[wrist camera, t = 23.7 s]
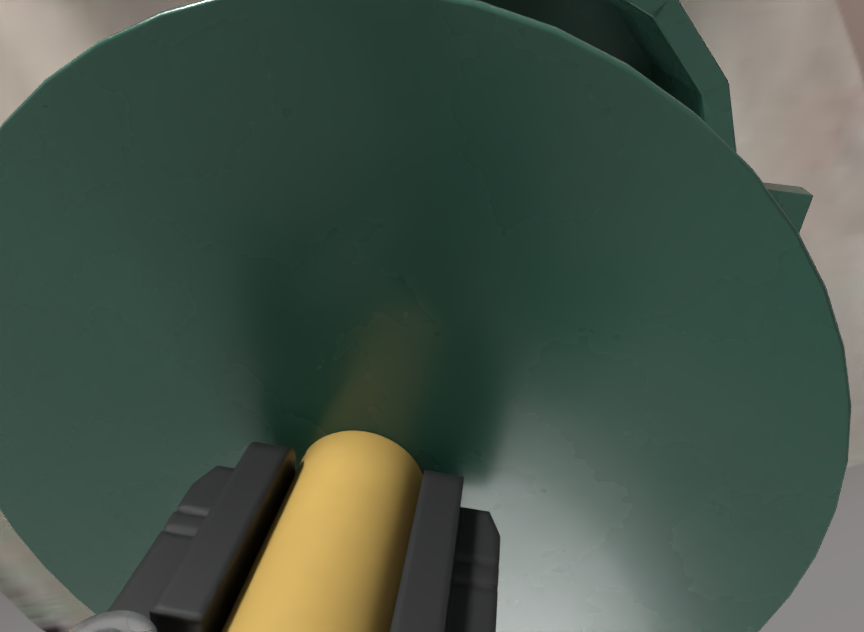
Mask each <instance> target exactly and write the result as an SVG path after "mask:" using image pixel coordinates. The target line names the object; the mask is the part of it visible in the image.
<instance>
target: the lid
mask: <svg viewBox="0 0 864 632" xmlns="http://www.w3.org/2000/svg"><path fill="white" fill-rule="evenodd" d="M850 415H851V400H850V391H849V383H848V375H847V366H846V358H845V350H844V345H843V341H842V338H841V335H840V332H839V328H838V325H837V322H836V319H835V315H834V312H833V309H832V305H831V302H830V299H829V296H828V292H827V289H826V286H825V284H824V282H823V281H822V279H821V277H820V275H819V273H818V271H817V269H816V267H815V265H814V263H813V261H812V259H811V257H810V255H809V253H808V251H807V249H806V247H805V245H804V243H803V241H802V239H801V237H800V235H799V233H798V231H797V229H796V227H795V226H794V225H793V223H792V222H791V220H790V219H789V218H788V216H787V215H786V214H785V212H784V211H783V210H782V208H781V207H780V206H779V204H778V203H777V201H776V200H775V199H774V197H773V196H772V195H771V193H770V192H769V191H768V189H767V188H766V187H765V185H764V184H763V182H762V181H761V180H760V178H759V177H758V176H757V174H756V173H755V172H754V170H753V169H752V168H751V167H750V166H749V165H748V164H747V163H746V162H745V161H744V160H743V159H742V158H741V157H740V156H739V155H738V154H737V153H736V152H735V151H734V150H733V149H732V148H731V147H730V146H729V145H728V144H727V143H726V142H725V141H724V140H723V139H722V138H721V137H720V136H719V135H717V134H716V133H715V132H714V131H713V130H712V129H711V128H710V127H709V126H708V125H707V124H706V123H705V122H704V121H703V120H702V119H701V118H700V117H699V116H698V115H697V114H696V113H694V112H693V111H692V110H691V109H689V108H688V107H687V106H685V105H684V104H682V103H681V102H680V101H678V100H677V99H675V98H674V97H673V96H671V95H670V94H669V93H667V92H666V91H664V90H663V89H662V88H660V87H659V86H657V85H656V84H655V83H653V82H652V81H651V80H649V79H648V78H646V77H645V76H644V75H642V74H641V73H639V72H638V71H637V70H635V69H634V68H632V67H631V66H630V65H628V64H627V63H625V62H623V61H621V60H619V59H617V58H615V57H613V56H611V55H609V54H607V53H606V52H604V51H602V50H600V49H598V48H596V47H594V46H592V45H590V44H588V43H586V42H584V41H582V40H580V39H578V38H577V37H575V36H573V35H571V34H569V33H567V32H565V31H563V30H561V29H559V28H557V27H555V26H552V25H549V24H546V23H543V22H540V21H537V20H534V19H532V18H529V17H526V16H523V15H520V14H517V13H514V12H511V11H508V10H505V9H502V8H500V7H497V6H494V5H491V4H488V3H485V2H482V1H479V0H202V1H199V2H195V3H191V4H188V5H184V6H181V7H177V8H174V9H170V10H167V11H163V12H160V13H158V14H156V15H154V16H152V17H150V18H148V19H145V20H143V21H141V22H139V23H137V24H135V25H133V26H131V27H129V28H126V29H124V30H122V31H120V32H118V33H116V34H114V35H112V36H110V37H107V38H105V39H103V40H101V41H99V42H97V43H96V44H95V45H93V46H92V47H90V48H89V49H87V50H86V51H85V52H83V53H82V54H80V55H79V56H78V57H76V58H75V59H73V60H72V61H71V62H69V63H68V64H66V65H65V66H64V67H62V68H61V69H59V70H58V71H56V72H55V73H54V74H52V75H51V76H49V77H48V78H47V79H45V80H44V81H43V82H42V83H41V85H40V86H39V87H38V88H37V89H36V90H35V91H34V92H33V93H32V94H31V95H30V96H29V97H28V98H27V99H26V100H25V101H24V102H23V103H22V104H21V105H20V106H19V107H18V108H17V109H16V110H15V111H14V112H13V113H12V114H11V115H10V116H9V117H8V118H7V119H6V120H5V121H4V123H3V124H2V126H1V127H0V510H1V511H2V513H3V514H4V516H5V517H6V519H7V520H8V522H9V523H10V525H11V526H12V528H13V529H14V531H15V532H16V533H17V534H18V536H19V537H20V538H21V539H22V540H23V542H24V543H25V544H26V545H27V546H28V548H29V549H30V550H31V551H32V552H33V553H34V555H35V556H36V557H37V558H38V559H39V561H40V562H41V563H42V564H43V565H44V567H45V568H46V569H47V570H48V571H49V572H51V573H52V574H53V575H54V576H55V577H56V578H57V579H58V580H59V581H60V582H61V583H62V584H63V585H64V586H65V587H66V588H67V589H68V590H69V591H70V592H71V593H72V594H73V595H74V596H75V597H76V598H77V599H78V600H79V601H81V602H82V603H83V604H84V605H85V606H87V607H88V608H89V609H90V610H91V611H93V612H94V613H95V614H96V615H97V614H101V613H104V612H107V611H108V609H109V608H110V607H111V605H112V604H113V603H114V601H115V600H116V598H117V597H118V595H119V594H120V592H121V591H122V589H123V588H124V586H125V585H126V583H127V582H128V580H129V579H130V577H131V576H132V574H133V573H134V571H135V570H136V568H137V567H138V565H139V564H140V562H141V561H142V559H143V558H144V556H145V555H146V553H147V552H148V550H149V549H150V547H151V546H152V544H153V543H154V541H155V540H156V538H157V537H158V535H159V533H160V532H161V531H163V530H164V526H165V524H166V523H167V521H168V520H169V518H170V517H171V515H172V514H173V512H176V511H177V506H178V505H179V503H180V502H181V500H182V499H183V497H184V496H185V494H186V493H187V491H188V490H189V488H190V487H191V485H192V484H193V483H194V482H196V481H197V480H198V479H200V478H201V477H202V476H204V475H205V474H206V473H208V472H209V471H210V470H212V469H213V468H215V467H216V466H217V465H218V466H224V467H230V468H235V467H236V465H237V464H238V462H239V460H240V459H241V457H242V455H243V454H244V452H245V450H246V449H247V447H248V446H249V445H250V443H252V442H260V443H266V444H272V445H278V446H284V447H290V448H293V449H294V450H295V458H296V473H295V475H294V477H293V479H292V481H291V483H290V485H289V487H288V490H287V492H286V494H285V496H284V498H283V500H282V502H281V504H280V506H279V509H278V511H277V513H276V515H275V517H274V519H273V521H272V523H271V526H270V528H269V530H268V532H267V534H266V536H265V538H264V540H263V542H262V545H261V547H260V549H259V551H258V553H257V555H256V557H255V559H254V561H253V564H252V566H251V568H250V570H249V572H248V574H247V576H246V578H245V580H244V583H243V585H242V587H241V589H240V591H239V593H238V595H237V597H236V600H235V602H234V604H233V606H232V608H231V610H230V612H229V614H228V616H227V619H226V621H225V623H224V625H223V627H222V629H221V631H220V632H390V628H391V624H392V619H393V614H394V609H395V605H396V600H397V595H398V591H399V586H400V581H401V577H402V572H403V567H404V562H405V558H406V553H407V548H408V544H409V539H410V534H411V530H412V525H413V520H414V515H415V511H416V506H417V501H418V497H419V492H420V487H421V483H422V478H423V473H424V470H428V471H434V472H440V473H446V474H452V475H458V476H464V482H463V490H462V498H461V505H460V507H465V508H471V509H477V510H483V511H489V512H490V514H491V516H492V518H493V520H494V523H495V525H496V527H497V530H498V532H499V534H500V558H499V578H498V590H497V591H498V598H497V618H496V632H758V631H760V630H761V628H762V627H763V626H764V625H765V624H766V623H767V622H768V620H769V619H770V618H771V617H772V616H773V615H774V614H775V613H776V611H777V610H778V609H779V608H780V607H781V606H782V605H783V603H784V602H785V601H786V600H787V599H788V598H789V597H790V595H791V594H792V592H793V591H794V589H795V588H796V586H797V584H798V583H799V581H800V580H801V578H802V577H803V575H804V574H805V572H806V571H807V569H808V568H809V566H810V564H811V563H812V561H813V560H814V558H815V557H816V555H817V552H818V550H819V548H820V545H821V543H822V541H823V539H824V536H825V534H826V532H827V529H828V527H829V525H830V523H831V520H832V518H833V516H834V513H835V511H836V507H837V503H838V499H839V495H840V491H841V487H842V482H843V478H844V474H845V470H846V466H847V462H848V448H849V432H850Z"/></svg>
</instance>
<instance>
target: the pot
mask: <svg viewBox="0 0 864 632" xmlns="http://www.w3.org/2000/svg"><path fill="white" fill-rule="evenodd" d="M479 1H482V2H485V3H488V4H491V5H494V6H497V7H500V8H502V9H505V10H508V11H511V12H514V13H517V14H520V15H523V16H526V17H529V18H532V19H534V20H537V21H540V22H543V23H546V24H549V25H552V26H555V27H557V28H559V29H561V30H563V31H565V32H567V33H569V34H571V35H573V36H575V37H577V38H578V39H580V40H582V41H584V42H586V43H588V44H590V45H592V46H594V47H596V48H598V49H600V50H602V51H604V52H606V53H607V54H609V55H611V56H613V57H615V58H617V59H619V60H621V61H623V62H625V63H627V64H628V65H630V66H631V67H632V68H634V69H635V70H637V71H638V72H639V73H641V74H642V75H644V76H645V77H646V78H648V79H649V80H651V81H652V82H653V83H655V84H656V85H657V86H659V87H660V88H662V89H663V90H664V91H666V92H667V93H669V94H670V95H671V96H673V97H674V98H675V99H677V100H678V101H680V102H681V103H682V104H684V105H685V106H687V107H688V108H689V109H691V110H692V111H693V112H694V113H696V114H697V115H698V116H699V117H700V118H701V119H702V120H703V121H704V122H705V123H706V124H707V125H708V126H709V127H710V128H711V129H712V130H713V131H714V132H715V133H716V134H717V135H719V136H720V137H721V138H722V139H723V140H724V141H725V142H726V143H727V144H728V145H729V146H730V147H731V148H732V149H733V150H734V151H735V152H736V145H735V136H734V127H733V117H732V108H731V99H730V89H729V83H728V80H727V78H726V77H725V75H724V74H723V72H722V70H721V69H720V67H719V65H718V64H717V62H716V61H715V59H714V57H713V56H712V54H711V52H710V51H709V49H708V48H707V46H706V44H705V43H704V41H703V40H702V38H701V36H700V35H699V33H698V31H697V30H696V28H695V27H694V25H693V23H692V22H691V20H690V18H689V17H688V15H687V14H686V12H685V10H684V9H683V7H682V5H681V4H680V2H679V1H678V0H479ZM763 184H764V185H765V187H766V188H767V189H768V191H769V192H770V193H771V195H772V196H773V197H774V199H775V200H776V201H777V203H778V204H779V206H780V207H781V208H782V210H783V211H784V212H785V214H786V215H787V216H788V218H789V219H790V220H791V222H792V223H793V225H794V226H795V227H796V229H797V231H798V233H799V232H800V229H801V226H802V224H803V221H804V219H805V216H806V213H807V211H808V208H809V205H810V203H811V200H812V198H813V195H812V194H810V193H809V192H808V191H806V190H805V189H804V188H802V187H796V186H787V185H779V184H771V183H763Z"/></svg>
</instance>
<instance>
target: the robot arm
mask: <svg viewBox="0 0 864 632" xmlns="http://www.w3.org/2000/svg"><path fill="white" fill-rule="evenodd" d="M295 473H296V458H295V450H294V449H293V448H290V447H284V446H278V445H272V444H266V443H260V442H252V443H250V445H249V446H248V447H247V449H246V450H245V452H244V454H243V455H242V457H241V459H240V460H239V462H238V464H237V465H236V467H235V468H230V467H224V466H218V465H217V466H216V467H215V468H213V469H212V470H210V471H209V472H208V473H206V474H205V475H204V476H202V477H201V478H200V479H198V480H197V481H196V482H194V483H193V484H192V485H191V487H190V488H189V490H188V491H187V493H186V494H185V496H184V497H183V499H182V500H181V502H180V503H179V505H178V506H177V511H176V512H173V514H172V515H171V517H170V518H169V520H168V521H167V523H166V524H165V526H164V530H163V531H161V532H160V533H159V535H158V537H157V538H156V540H155V541H154V543H153V544H152V546H151V547H150V549H149V550H148V552H147V553H146V555H145V556H144V558H143V559H142V561H141V562H140V564H139V565H138V567H137V568H136V570H135V571H134V573H133V574H132V576H131V577H130V579H129V580H128V582H127V583H126V585H125V586H124V588H123V589H122V591H121V592H120V594H119V595H118V597H117V598H116V600H115V601H114V603H113V604H112V605H111V607H110V608H109V609H108V611H107V612H104V613H101V614H97V615H95V616H92V617H90V618H88V619H86V620H84V621H82V622H80V623H78V624H77V625H76V626H74V627H73V628H71V629H70V630H69V631H68V632H220V631H221V629H222V627H223V625H224V623H225V621H226V619H227V616H228V614H229V612H230V610H231V608H232V606H233V604H234V602H235V600H236V597H237V595H238V593H239V591H240V589H241V587H242V585H243V583H244V580H245V578H246V576H247V574H248V572H249V570H250V568H251V566H252V564H253V561H254V559H255V557H256V555H257V553H258V551H259V549H260V547H261V545H262V542H263V540H264V538H265V536H266V534H267V532H268V530H269V528H270V526H271V523H272V521H273V519H274V517H275V515H276V513H277V511H278V509H279V506H280V504H281V502H282V500H283V498H284V496H285V494H286V492H287V490H288V487H289V485H290V483H291V481H292V479H293V477H294V475H295ZM463 482H464V476H458V475H452V474H446V473H440V472H434V471H428V470H424V473H423V478H422V483H421V487H420V492H419V497H418V501H417V506H416V511H415V515H414V520H413V525H412V530H411V534H410V539H409V544H408V548H407V553H406V558H405V562H404V567H403V572H402V577H401V581H400V586H399V591H398V595H397V600H396V605H395V609H394V614H393V619H392V624H391V628H390V632H496V618H497V598H498V591H497V590H498V578H499V558H500V534H499V532H498V530H497V527H496V525H495V523H494V520H493V518H492V516H491V514H490V512H489V511H483V510H477V509H471V508H465V507H460V505H461V498H462V490H463Z"/></svg>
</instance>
